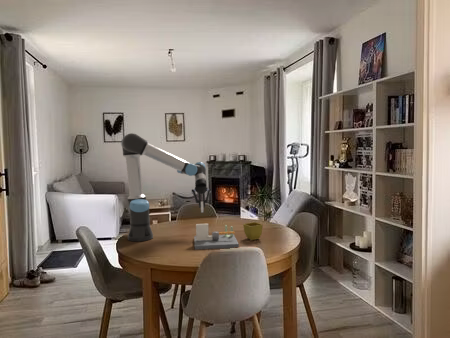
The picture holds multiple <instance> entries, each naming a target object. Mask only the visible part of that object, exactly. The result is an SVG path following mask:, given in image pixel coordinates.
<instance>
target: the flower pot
mask: <svg viewBox="0 0 450 338" xmlns="http://www.w3.org/2000/svg"><path fill="white" fill-rule="evenodd" d="M242 225H243V232H244V235H245V237H246V238H247V239H249V240H250V241H255V240H259V239H260V238H261V236H262V234H263V224H261V223H260V222H255V221H254V222H248V223H247V222H246V223H243V224H242Z"/></svg>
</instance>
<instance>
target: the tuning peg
mask: <svg viewBox="0 0 450 338" xmlns="http://www.w3.org/2000/svg"><path fill="white" fill-rule="evenodd" d="M195 230H196V231H195V234H196V235H195V236H196V240H219V235H225V234H227V235H231V233H233V234H235V233H236V232H235V231H233V232H231V231H227V232H225V231H212V232H211V235H212V236H209V223H196V224H195Z"/></svg>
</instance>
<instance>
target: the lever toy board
mask: <svg viewBox="0 0 450 338" xmlns="http://www.w3.org/2000/svg"><path fill="white" fill-rule="evenodd" d="M233 226H234V225H233ZM233 226H232V225H231V226H230V232H234V227H233ZM224 232H228V225H227V224H224ZM209 236H212V234H211V235H209ZM193 239H194V250H213V249H214V250H215V249H218V250H219V249H235V248H234V247H239V248H240V245H239V242H238V240H237V238H236V235H235V234H234V233H230V234H219V240H196V235H194V238H193Z"/></svg>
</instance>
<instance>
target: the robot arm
mask: <svg viewBox="0 0 450 338" xmlns="http://www.w3.org/2000/svg"><path fill="white" fill-rule="evenodd" d="M120 145H121V147H122V156H123V157H124V158H125V163H126V171H127V172H126V173H127V174H126V175H127V181H128V182H127V183H128V193H129V196H127V210H128V213H129V224H130V225H129V231H128V233H127V240H128V241H129V242H145V241H150V240H152V239H153V238H154V233H153V230H152V228H151V223H150V222H151V220H150V217H151V216H150V202H149V201H148V200H147V197H146V195H145V194H144V188H143V178H142V168H141V156H145V157H148V158H150V159H152V160H155V161H156V162H158V163H161V164H164V165H166V166H168V167H170V168H172V169H175V170H176V172H177V173H178V174H182V175H186V176H190V177H192V176H194V182H195V184H194V189H191V194H192V195H193V198H194V201H195V204H198V208H200V213H204V208H205V207H206V204H208V202H209V198H210V194H211V193H212V189H211V188H208V186H207V184H208V183H207V169H206V165H205V163H204V162H202V161H198V162H196V163H191V162H189V161H188V160H185V159H183V158H181V157H178V156H177V155H174V154H173V153H170V152H168V151H165V150H164V149H162V148H160V147H158V146H156V145H153V144H151V143H150V142H149V140H146V139H144V138H143V137H141V136H140V135H138V134H136V133H133V132H132V133H127V134H126V135H124V137H122V138H121V144H120ZM196 193H197V194H198V195H197V194H196ZM206 193H207V194H206ZM205 194H206V195H205ZM201 196H202V199H201ZM205 196H206V197H205ZM201 200H202V201H201Z"/></svg>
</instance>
